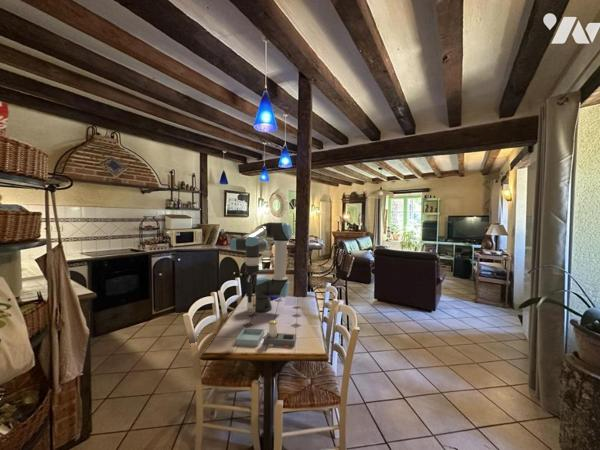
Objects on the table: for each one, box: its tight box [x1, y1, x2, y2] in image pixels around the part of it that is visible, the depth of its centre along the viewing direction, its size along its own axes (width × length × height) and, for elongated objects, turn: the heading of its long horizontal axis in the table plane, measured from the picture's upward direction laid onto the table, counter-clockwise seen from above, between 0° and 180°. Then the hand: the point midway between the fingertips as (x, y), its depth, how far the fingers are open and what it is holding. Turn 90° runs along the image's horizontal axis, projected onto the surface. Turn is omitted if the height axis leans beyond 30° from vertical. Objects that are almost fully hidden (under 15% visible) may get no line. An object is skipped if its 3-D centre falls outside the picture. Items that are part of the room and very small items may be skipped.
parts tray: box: [235, 327, 265, 347], centre depth 142 cm, size 14×12×3 cm
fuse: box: [268, 319, 278, 339], centre depth 140 cm, size 4×4×10 cm
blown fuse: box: [246, 293, 256, 314], centre depth 142 cm, size 4×4×10 cm
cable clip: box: [270, 296, 279, 301], centre depth 218 cm, size 12×4×6 cm, turn 142°
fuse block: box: [263, 331, 297, 348], centre depth 139 cm, size 9×16×3 cm, turn 84°
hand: (251, 306), depth 142 cm, fingers closed on blown fuse, 4 cm apart
